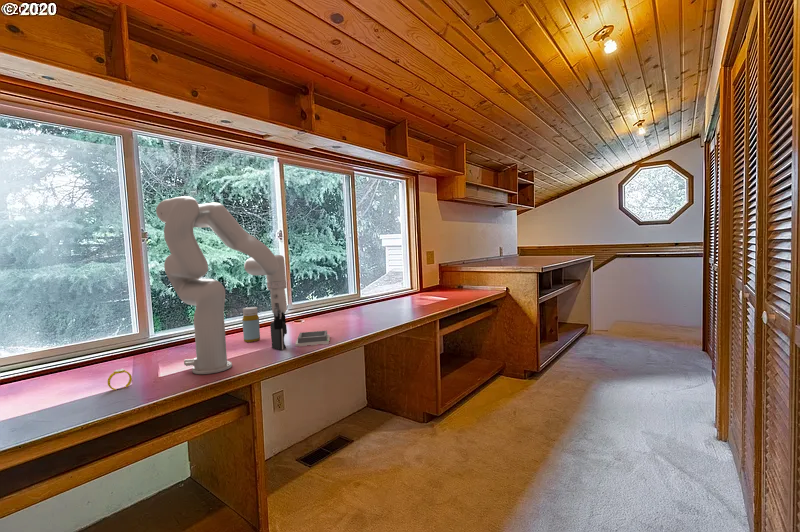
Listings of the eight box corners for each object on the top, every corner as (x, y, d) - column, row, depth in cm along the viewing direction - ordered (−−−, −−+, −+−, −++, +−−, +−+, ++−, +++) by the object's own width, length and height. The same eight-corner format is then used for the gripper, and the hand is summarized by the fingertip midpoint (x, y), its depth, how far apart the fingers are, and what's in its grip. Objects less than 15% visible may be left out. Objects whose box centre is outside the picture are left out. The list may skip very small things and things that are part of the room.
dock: (295, 346, 165) (294, 339, 165) (298, 339, 179) (297, 332, 179) (329, 344, 168) (328, 336, 167) (329, 336, 181) (329, 329, 181)
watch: (130, 386, 125) (130, 367, 125) (132, 388, 123) (132, 368, 123) (106, 390, 120) (107, 371, 120) (109, 392, 119) (109, 372, 119)
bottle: (253, 338, 185) (251, 306, 185) (263, 339, 181) (261, 307, 181) (240, 341, 180) (238, 308, 179) (250, 343, 176) (247, 309, 175)
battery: (289, 348, 163) (287, 321, 162) (281, 350, 160) (279, 322, 159) (279, 346, 167) (277, 319, 166) (271, 348, 164) (269, 321, 163)
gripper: (283, 287, 154) (287, 330, 156) (288, 282, 171) (291, 321, 173) (263, 288, 153) (267, 332, 154) (270, 283, 170) (274, 322, 171)
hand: (280, 326), depth 164 cm, fingers open, 9 cm apart
